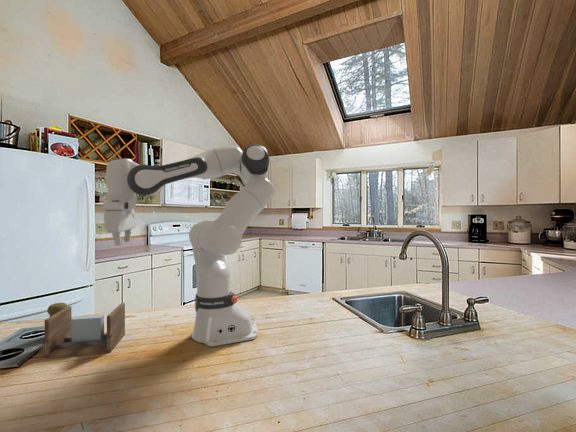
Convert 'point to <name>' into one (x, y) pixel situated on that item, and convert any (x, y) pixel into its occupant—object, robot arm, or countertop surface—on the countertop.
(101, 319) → the door panel
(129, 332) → the countertop surface
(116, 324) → the cabinet
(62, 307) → the cork
